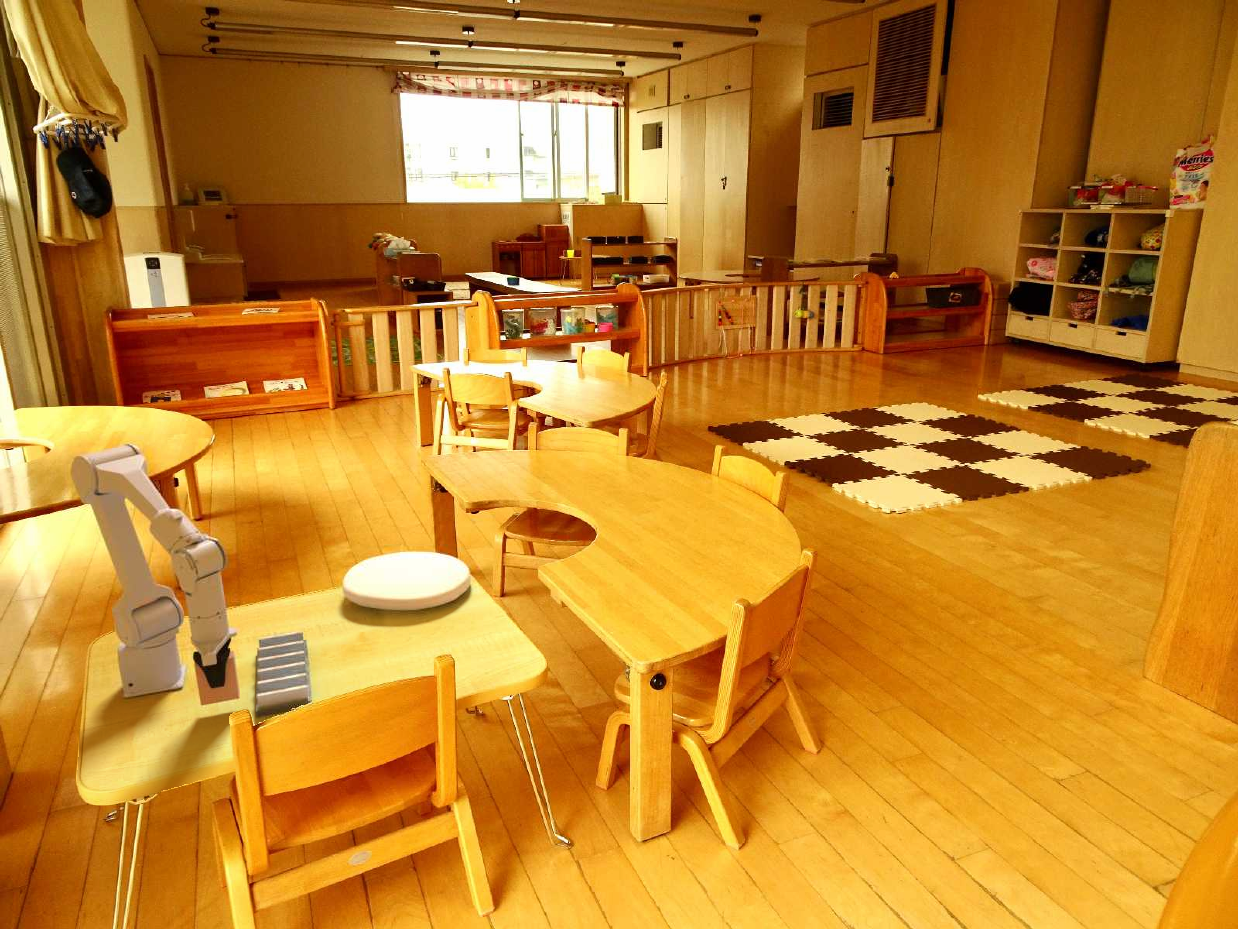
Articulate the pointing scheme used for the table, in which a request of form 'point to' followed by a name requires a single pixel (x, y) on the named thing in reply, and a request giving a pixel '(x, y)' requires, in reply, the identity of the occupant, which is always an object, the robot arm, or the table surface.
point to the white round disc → (406, 581)
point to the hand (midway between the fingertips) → (218, 682)
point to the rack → (282, 673)
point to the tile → (220, 693)
